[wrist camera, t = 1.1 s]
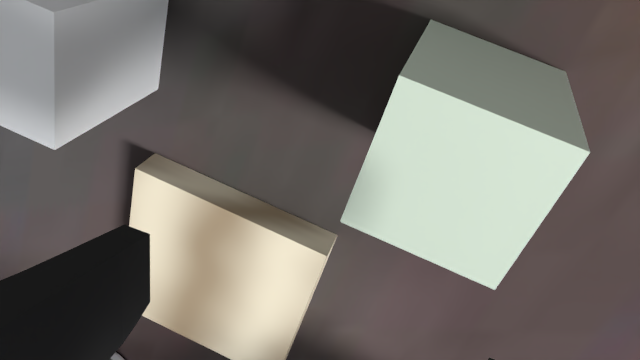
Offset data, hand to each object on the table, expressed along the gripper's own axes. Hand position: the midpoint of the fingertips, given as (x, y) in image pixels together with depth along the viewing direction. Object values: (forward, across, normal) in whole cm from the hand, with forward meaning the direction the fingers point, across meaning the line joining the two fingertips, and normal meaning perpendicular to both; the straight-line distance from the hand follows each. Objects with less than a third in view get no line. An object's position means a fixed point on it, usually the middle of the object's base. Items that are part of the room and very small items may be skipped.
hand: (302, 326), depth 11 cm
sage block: (+10, -2, -2) cm, 11 cm away
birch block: (+11, +6, +10) cm, 16 cm away
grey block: (+10, +12, -1) cm, 16 cm away
